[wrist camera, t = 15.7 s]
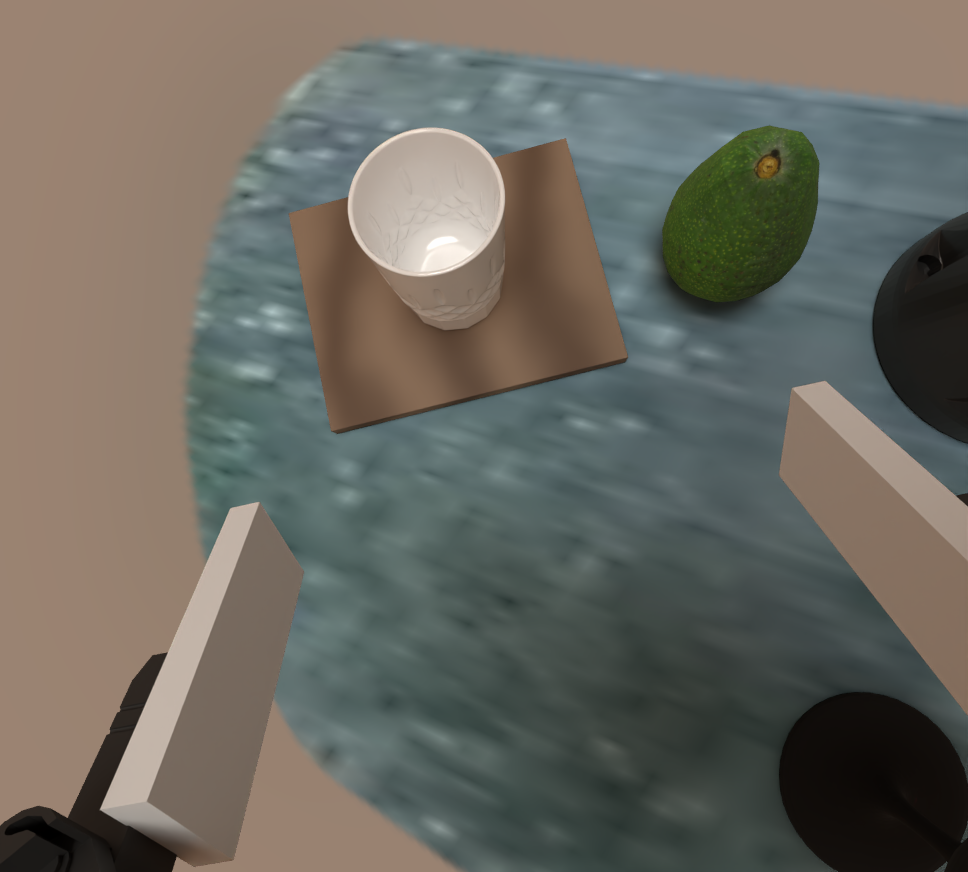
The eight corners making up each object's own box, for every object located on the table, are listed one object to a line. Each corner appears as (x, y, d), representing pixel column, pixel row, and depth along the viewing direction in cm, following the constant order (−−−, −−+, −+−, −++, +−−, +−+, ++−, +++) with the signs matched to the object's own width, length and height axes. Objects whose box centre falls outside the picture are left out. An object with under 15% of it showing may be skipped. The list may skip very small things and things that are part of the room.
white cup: (372, 282, 37) (315, 200, 27) (457, 205, 38) (431, 97, 28) (449, 363, 36) (418, 308, 26) (536, 283, 36) (538, 199, 26)
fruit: (779, 314, 36) (902, 218, 24) (658, 332, 36) (720, 247, 25) (754, 202, 37) (860, 58, 25) (637, 221, 38) (687, 89, 26)
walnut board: (564, 149, 39) (565, 138, 38) (625, 362, 36) (628, 357, 35) (296, 222, 40) (288, 213, 39) (337, 433, 37) (331, 431, 36)
